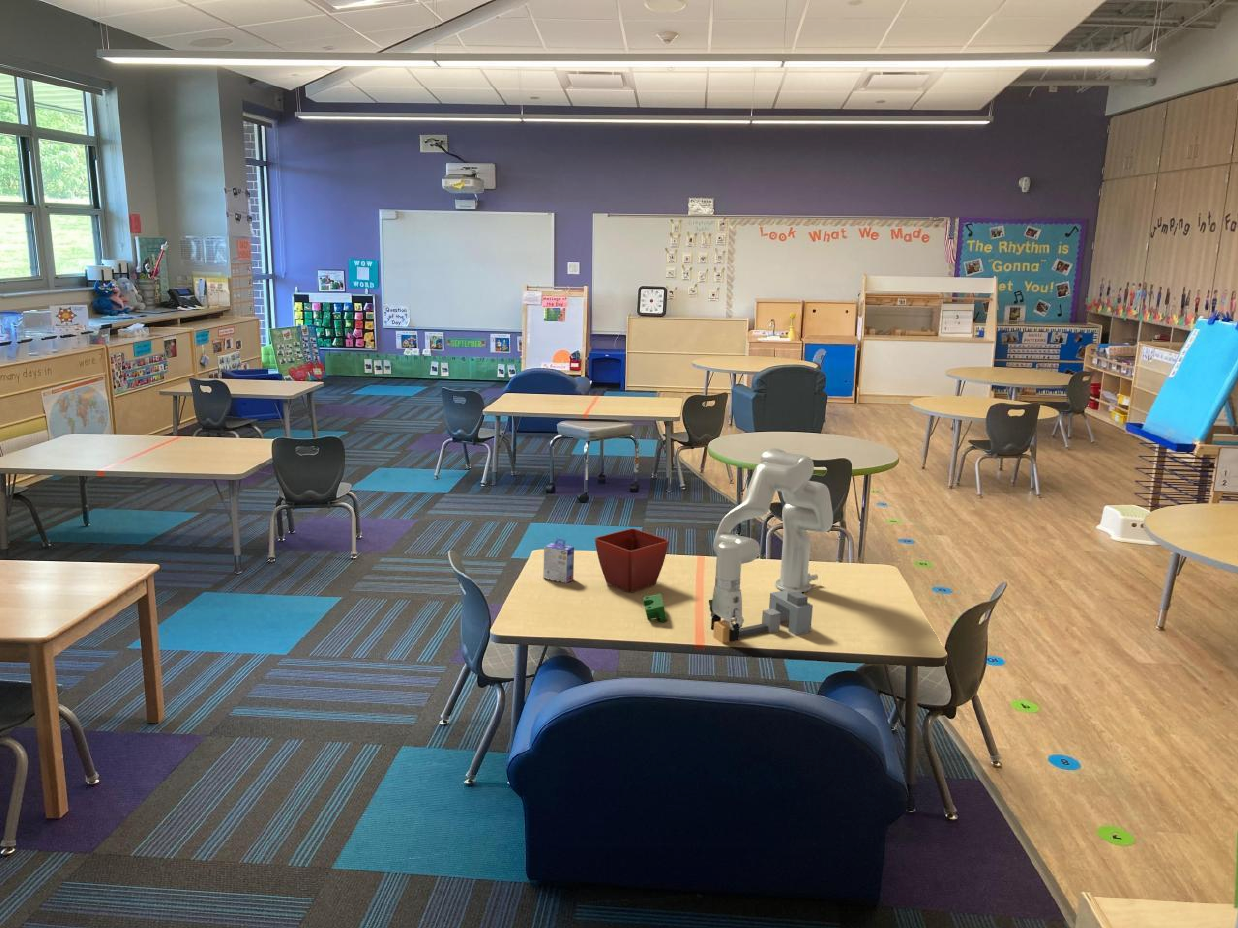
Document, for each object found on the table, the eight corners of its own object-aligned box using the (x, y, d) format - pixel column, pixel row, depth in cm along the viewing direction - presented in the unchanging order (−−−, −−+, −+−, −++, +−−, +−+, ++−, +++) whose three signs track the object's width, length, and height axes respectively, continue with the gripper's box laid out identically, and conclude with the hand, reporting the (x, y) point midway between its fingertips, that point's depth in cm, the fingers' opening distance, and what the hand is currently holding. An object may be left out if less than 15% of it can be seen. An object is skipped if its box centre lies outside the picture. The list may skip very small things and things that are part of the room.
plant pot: (592, 582, 331) (593, 537, 327) (631, 571, 343) (633, 527, 339) (628, 598, 317) (630, 551, 313) (668, 585, 329) (670, 540, 326)
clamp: (649, 624, 307) (642, 597, 308) (666, 620, 307) (660, 593, 308) (648, 624, 295) (642, 596, 296) (667, 620, 295) (660, 592, 296)
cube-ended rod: (770, 625, 298) (771, 607, 296) (780, 631, 293) (781, 613, 292) (713, 637, 287) (714, 618, 286) (722, 643, 283) (723, 624, 282)
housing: (783, 616, 305) (785, 583, 303) (810, 631, 293) (813, 597, 291) (768, 618, 303) (770, 585, 300) (795, 635, 291) (798, 600, 288)
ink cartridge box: (574, 578, 333) (575, 540, 330) (567, 583, 329) (567, 544, 325) (550, 574, 338) (550, 536, 334) (542, 578, 333) (543, 540, 329)
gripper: (754, 590, 277) (751, 643, 280) (721, 571, 291) (718, 622, 295) (733, 593, 273) (730, 647, 277) (701, 574, 288) (698, 626, 292)
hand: (724, 634), depth 286 cm, fingers open, 9 cm apart
